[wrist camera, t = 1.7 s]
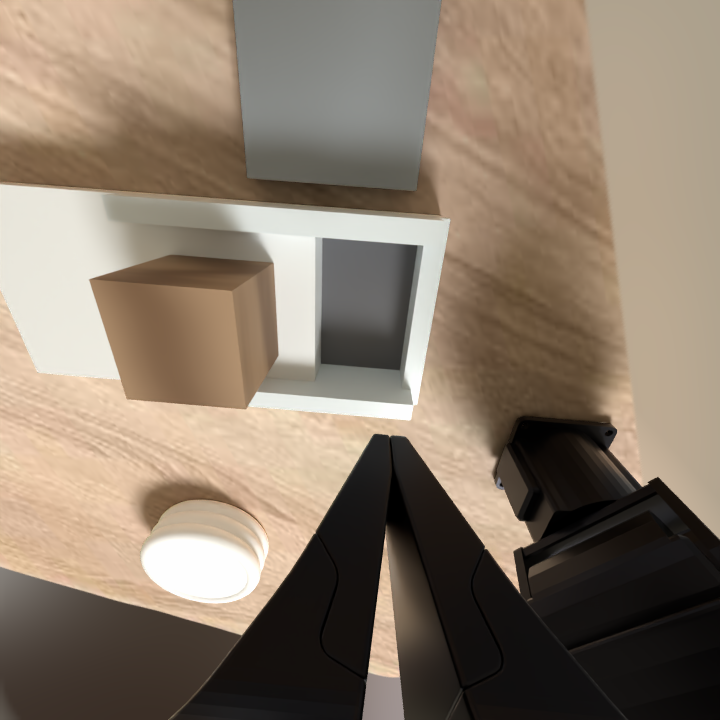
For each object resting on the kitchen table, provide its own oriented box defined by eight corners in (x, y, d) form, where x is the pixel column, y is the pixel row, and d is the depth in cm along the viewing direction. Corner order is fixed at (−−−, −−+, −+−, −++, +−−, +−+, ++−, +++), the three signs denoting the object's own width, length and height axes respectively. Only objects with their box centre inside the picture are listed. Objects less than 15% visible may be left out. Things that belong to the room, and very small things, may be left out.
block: (273, 262, 16) (231, 291, 11) (278, 355, 18) (245, 409, 13) (170, 254, 16) (88, 279, 11) (188, 347, 18) (126, 399, 14)
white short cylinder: (148, 492, 28) (119, 530, 25) (263, 499, 27) (249, 538, 24) (176, 562, 32) (155, 602, 29) (275, 569, 32) (264, 609, 29)
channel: (440, 215, 17) (457, 221, 13) (412, 382, 21) (419, 421, 18) (7, 181, 17) (-92, 179, 13) (73, 354, 21) (12, 386, 18)
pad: (444, -45, 12) (449, -63, 12) (414, 191, 16) (416, 191, 15) (237, -59, 13) (226, -77, 12) (254, 178, 16) (247, 178, 15)
